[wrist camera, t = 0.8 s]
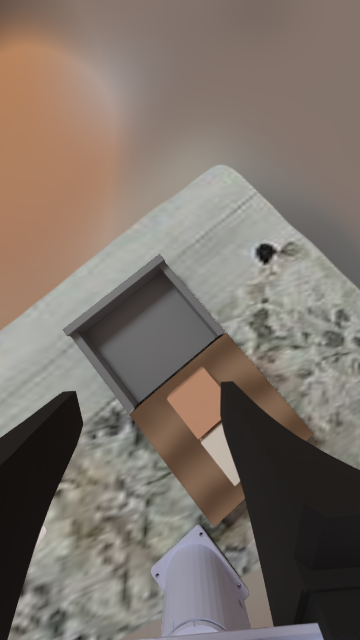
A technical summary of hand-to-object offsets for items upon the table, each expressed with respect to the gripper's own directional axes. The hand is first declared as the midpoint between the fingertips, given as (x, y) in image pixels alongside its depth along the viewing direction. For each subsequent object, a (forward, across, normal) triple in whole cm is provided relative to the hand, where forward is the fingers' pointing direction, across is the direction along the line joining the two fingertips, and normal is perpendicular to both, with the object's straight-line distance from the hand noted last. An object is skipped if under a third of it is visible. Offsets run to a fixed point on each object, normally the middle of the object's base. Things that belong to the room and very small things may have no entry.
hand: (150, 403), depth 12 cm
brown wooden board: (+15, -6, +16) cm, 23 cm away
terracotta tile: (+14, -4, +11) cm, 19 cm away
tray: (+21, +2, +5) cm, 22 cm away
